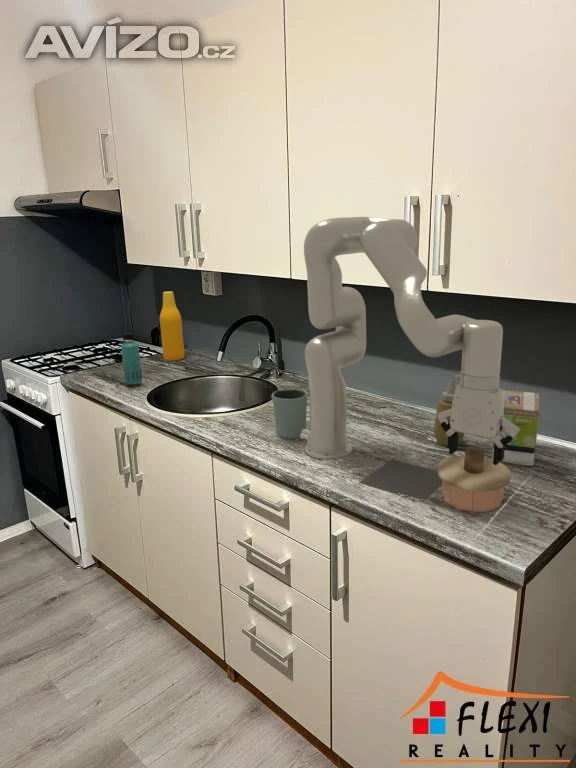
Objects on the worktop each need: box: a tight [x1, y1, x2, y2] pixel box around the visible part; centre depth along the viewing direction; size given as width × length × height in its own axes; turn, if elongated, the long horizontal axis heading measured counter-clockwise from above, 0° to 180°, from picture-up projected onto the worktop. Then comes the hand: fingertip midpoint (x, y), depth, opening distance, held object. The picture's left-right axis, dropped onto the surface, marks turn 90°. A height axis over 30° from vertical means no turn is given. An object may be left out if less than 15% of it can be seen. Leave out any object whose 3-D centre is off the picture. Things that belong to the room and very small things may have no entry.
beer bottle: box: [159, 291, 185, 362], centre depth 254 cm, size 9×9×29 cm
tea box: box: [491, 389, 541, 467], centre depth 149 cm, size 15×10×15 cm, turn 158°
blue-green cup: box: [271, 388, 308, 439], centre depth 168 cm, size 10×10×12 cm
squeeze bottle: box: [433, 379, 465, 448], centre depth 155 cm, size 8×8×18 cm
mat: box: [359, 458, 442, 502], centre depth 138 cm, size 16×16×1 cm
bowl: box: [441, 480, 506, 513], centre depth 128 cm, size 12×12×6 cm
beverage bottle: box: [120, 332, 143, 385], centre depth 217 cm, size 6×7×20 cm
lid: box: [436, 446, 511, 491], centre depth 126 cm, size 15×15×6 cm
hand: (474, 457), depth 126 cm, fingers open, 9 cm apart
